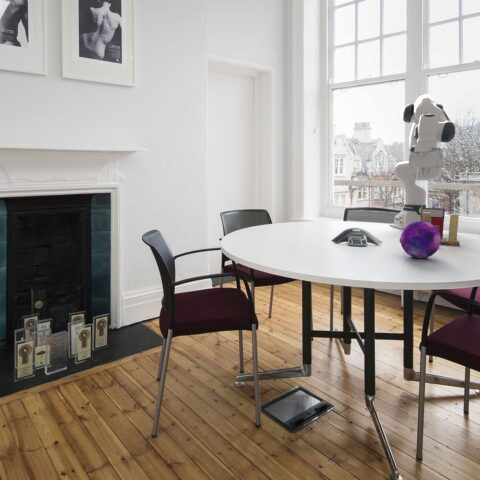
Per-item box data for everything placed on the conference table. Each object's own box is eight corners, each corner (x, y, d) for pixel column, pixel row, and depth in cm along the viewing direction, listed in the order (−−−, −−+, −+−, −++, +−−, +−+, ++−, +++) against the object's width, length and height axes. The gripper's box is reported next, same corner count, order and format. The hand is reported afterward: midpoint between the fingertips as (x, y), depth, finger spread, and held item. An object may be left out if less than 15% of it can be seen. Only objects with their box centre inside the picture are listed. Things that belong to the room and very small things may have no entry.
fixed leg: (446, 241, 206) (448, 214, 204) (446, 240, 210) (448, 213, 208) (458, 242, 204) (460, 215, 202) (458, 241, 208) (460, 214, 206)
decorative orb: (413, 262, 169) (416, 224, 166) (392, 255, 183) (394, 219, 181) (447, 261, 172) (450, 223, 170) (423, 253, 187) (426, 218, 184)
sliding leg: (418, 239, 211) (420, 212, 209) (419, 237, 215) (421, 211, 213) (429, 240, 209) (432, 213, 207) (430, 238, 213) (432, 212, 211)
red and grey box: (419, 236, 230) (421, 208, 227) (419, 235, 233) (422, 207, 231) (442, 238, 225) (444, 209, 222) (442, 237, 228) (445, 208, 226)
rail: (399, 242, 214) (399, 238, 213) (401, 240, 220) (401, 236, 220) (459, 246, 203) (459, 243, 203) (458, 243, 209) (459, 240, 209)
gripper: (448, 147, 203) (445, 177, 206) (417, 149, 222) (415, 176, 225) (437, 147, 201) (434, 177, 204) (407, 148, 221) (405, 176, 223)
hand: (424, 177), depth 214 cm, fingers closed
